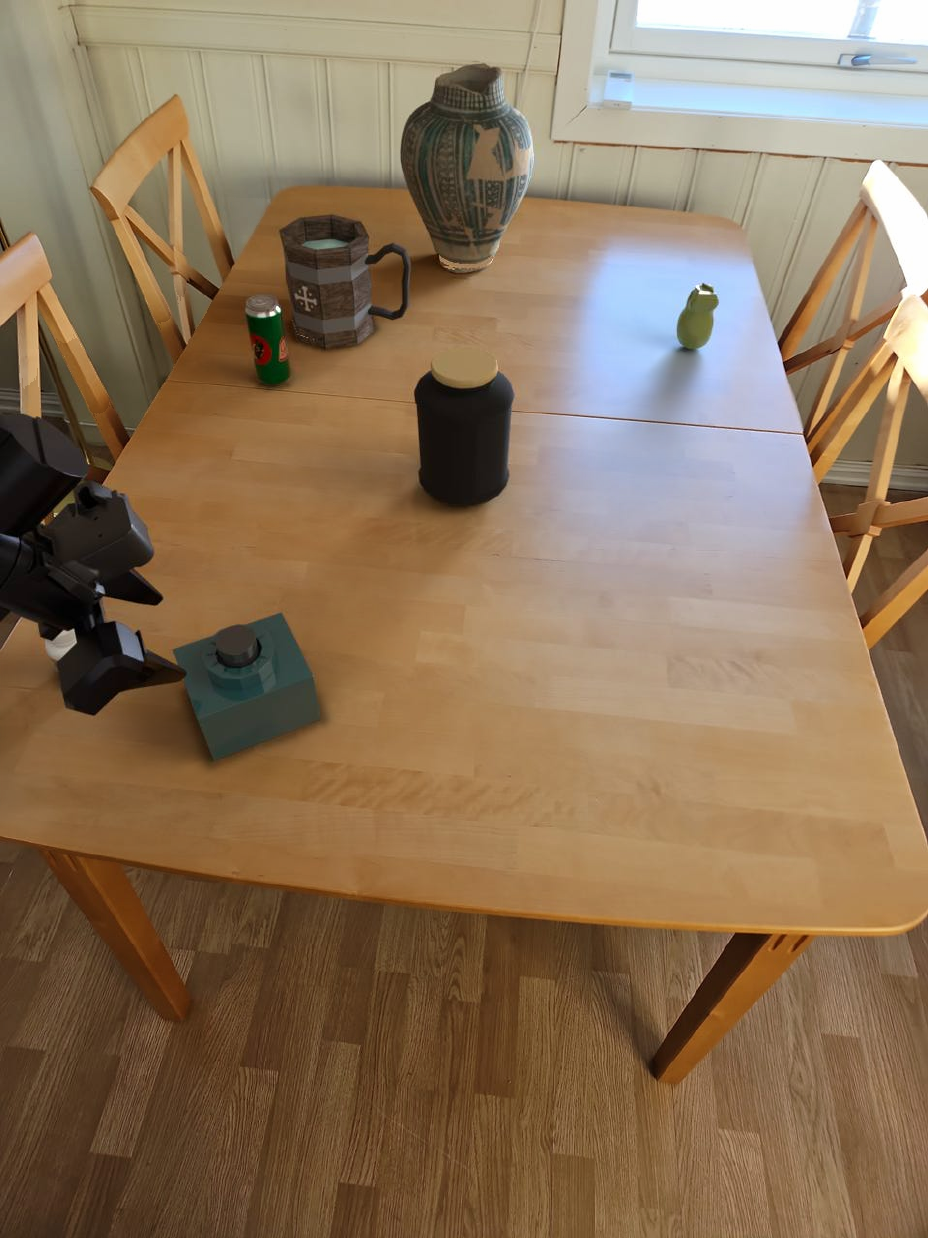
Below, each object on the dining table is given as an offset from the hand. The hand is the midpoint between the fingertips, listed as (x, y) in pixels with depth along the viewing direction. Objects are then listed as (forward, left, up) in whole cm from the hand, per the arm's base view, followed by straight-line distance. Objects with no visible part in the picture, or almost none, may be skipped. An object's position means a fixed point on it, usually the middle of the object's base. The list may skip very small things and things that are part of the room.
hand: (171, 637), depth 70 cm
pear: (+97, -3, -15) cm, 98 cm away
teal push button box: (+5, -1, -15) cm, 16 cm away
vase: (+97, +42, -15) cm, 107 cm away
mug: (+66, +42, -15) cm, 80 cm away
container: (+46, +4, -15) cm, 49 cm away
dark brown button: (+5, -1, -6) cm, 8 cm away
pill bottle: (-3, +16, -15) cm, 22 cm away
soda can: (+48, +41, -15) cm, 65 cm away
